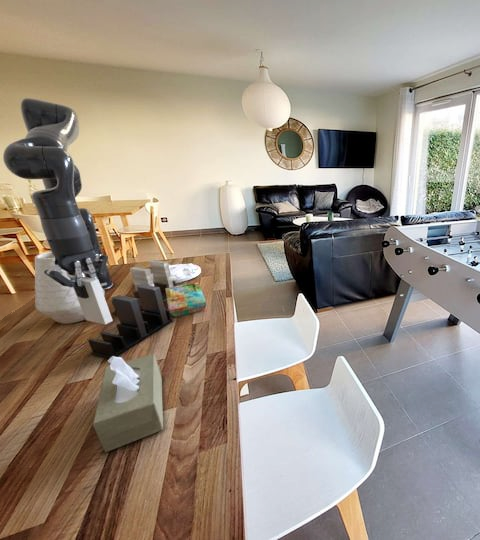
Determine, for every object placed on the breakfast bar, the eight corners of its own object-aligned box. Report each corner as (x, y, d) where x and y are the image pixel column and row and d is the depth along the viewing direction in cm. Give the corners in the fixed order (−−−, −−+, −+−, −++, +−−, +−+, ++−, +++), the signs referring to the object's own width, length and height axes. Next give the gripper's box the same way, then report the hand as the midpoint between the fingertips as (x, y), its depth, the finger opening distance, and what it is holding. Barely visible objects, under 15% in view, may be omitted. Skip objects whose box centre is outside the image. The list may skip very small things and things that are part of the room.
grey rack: (112, 359, 82) (96, 318, 76) (91, 355, 83) (75, 313, 78) (173, 321, 100) (164, 285, 95) (155, 317, 102) (145, 282, 97)
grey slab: (131, 316, 102) (119, 281, 96) (114, 313, 103) (102, 278, 98) (178, 291, 121) (171, 260, 115) (163, 288, 122) (156, 258, 117)
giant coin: (209, 274, 138) (208, 268, 137) (166, 289, 122) (165, 283, 121) (186, 265, 147) (185, 259, 146) (143, 277, 131) (141, 271, 130)
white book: (105, 324, 79) (90, 282, 74) (85, 320, 80) (69, 278, 75) (112, 320, 81) (98, 279, 76) (93, 316, 82) (78, 275, 77)
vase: (33, 320, 98) (3, 257, 89) (94, 299, 112) (74, 243, 103) (58, 335, 91) (28, 268, 82) (120, 310, 105) (101, 251, 96)
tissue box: (115, 391, 71) (94, 339, 65) (161, 376, 76) (147, 327, 70) (105, 454, 57) (78, 395, 51) (163, 431, 62) (145, 374, 56)
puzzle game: (168, 308, 99) (164, 286, 114) (170, 319, 101) (167, 296, 116) (205, 299, 106) (197, 280, 121) (207, 310, 107) (199, 290, 122)
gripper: (86, 225, 78) (105, 283, 84) (19, 239, 65) (48, 305, 72) (108, 228, 76) (126, 286, 83) (44, 243, 64) (71, 310, 70)
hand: (89, 295), depth 77 cm, fingers closed on white book, 2 cm apart
